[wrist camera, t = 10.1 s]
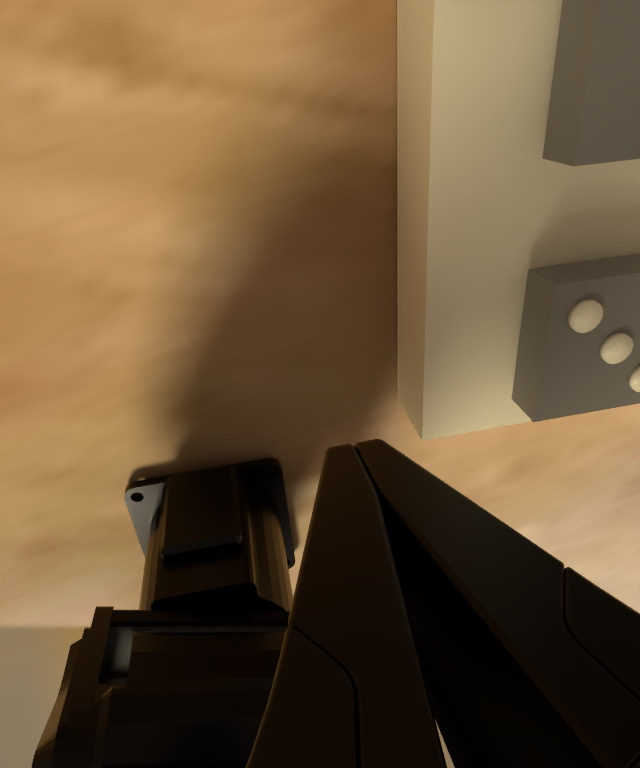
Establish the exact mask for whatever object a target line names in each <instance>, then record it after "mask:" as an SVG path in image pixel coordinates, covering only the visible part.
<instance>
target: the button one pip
mask: <svg viewBox="0 0 640 768" xmlns="http://www.w3.org/2000/svg"><path fill="white" fill-rule="evenodd" d="M542 159H546V160H550V161H554V162H558V163H562V164H566V165H570V166H582V165H590V164H599V163H607V162H616V161H624V160H633V159H640V0H563V1H562V9H561V17H560V24H559V32H558V40H557V48H556V56H555V63H554V71H553V79H552V87H551V95H550V102H549V110H548V118H547V126H546V134H545V141H544V149H543V157H542Z"/></svg>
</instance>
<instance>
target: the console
mask: <svg viewBox="0 0 640 768" xmlns="http://www.w3.org/2000/svg"><path fill="white" fill-rule="evenodd" d="M562 1H563V0H397V296H398V401H399V402H400V404H401V406H402V407H403V409H404V411H405V412H406V414H407V416H408V418H409V419H410V421H411V423H412V424H413V426H414V428H415V429H416V431H417V433H418V435H419V436H420V438H421V440H422V441H423V440H429V439H434V438H440V437H446V436H451V435H457V434H463V433H468V432H474V431H479V430H485V429H491V428H496V427H502V426H508V425H513V424H519V423H525V422H530V421H532V420H531V419H530V418H529V417H528V416H527V415H526V414H525V413H524V412H523V410H522V409H521V408H520V407H519V406H518V405H517V404H516V403H515V402H514V401H513V400H512V391H513V383H514V375H515V367H516V360H517V352H518V344H519V336H520V328H521V321H522V313H523V305H524V297H525V289H526V281H527V274H528V269H531V268H538V267H545V266H552V265H559V264H566V263H573V262H580V261H587V260H594V259H602V258H609V257H616V256H623V255H630V254H637V253H640V159H633V160H624V161H616V162H607V163H599V164H590V165H582V166H570V165H566V164H562V163H558V162H554V161H550V160H546V159H542V157H543V149H544V141H545V134H546V126H547V118H548V110H549V102H550V95H551V87H552V79H553V71H554V63H555V56H556V48H557V40H558V32H559V24H560V17H561V9H562Z"/></svg>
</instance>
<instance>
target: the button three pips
mask: <svg viewBox="0 0 640 768" xmlns="http://www.w3.org/2000/svg"><path fill="white" fill-rule="evenodd" d="M512 400H513V401H514V402H515V403H516V404H517V405H518V406H519V407H520V408H521V409H522V410H523V412H524V413H525V414H526V415H527V416H528V417H529V418H530V419H531V420H532V421H533V422H536V421H542V420H548V419H553V418H559V417H565V416H570V415H576V414H581V413H587V412H593V411H598V410H604V409H610V408H615V407H621V406H627V405H632V404H638V403H640V253H637V254H630V255H623V256H616V257H609V258H602V259H594V260H587V261H580V262H573V263H566V264H559V265H552V266H545V267H538V268H531V269H528V274H527V281H526V289H525V297H524V305H523V313H522V321H521V328H520V336H519V344H518V352H517V360H516V367H515V375H514V383H513V391H512Z"/></svg>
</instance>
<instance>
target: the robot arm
mask: <svg viewBox="0 0 640 768" xmlns="http://www.w3.org/2000/svg"><path fill="white" fill-rule="evenodd" d="M267 469H274V471H272V472H266V470H267ZM135 492H139V493H141V494H142V495H134V494H133V493H135ZM124 498H125V502H126V505H127V508H128V510H129V513H130V516H131V519H132V522H133V525H134V527H135V530H136V533H137V536H138V539H139V542H140V544H141V547H142V550H143V553H144V556H145V566H144V574H143V582H142V590H141V598H140V606H139V610H113V607H96V609H95V613H94V617H93V621H92V625H91V628H85V629H84V633H83V636H82V639H80V640H79V641H77V642H75V643H74V644H72V645H71V646H70V650H69V655H68V659H67V663H66V667H65V671H64V676H63V680H62V683H61V687H60V690H59V694H58V697H57V700H56V702H55V705H54V707H53V710H52V712H51V715H50V717H49V719H48V722H47V724H46V727H45V729H44V731H43V734H42V736H41V739H40V741H39V744H38V746H37V749H36V751H35V755H34V759H33V764H32V768H447V766H446V762H445V758H444V754H443V750H442V746H441V742H440V738H439V734H438V730H437V726H436V722H437V725H438V727H439V729H440V732H441V735H442V737H443V739H444V742H445V744H446V747H447V749H448V752H449V754H450V757H451V759H452V762H453V764H454V767H455V768H640V613H638V612H636V611H635V610H633V609H632V608H630V607H629V606H627V605H626V604H624V603H623V602H621V601H620V600H618V599H616V598H615V597H613V596H612V595H610V594H609V593H607V592H606V591H604V590H603V589H601V588H600V587H598V586H596V585H595V584H593V583H592V582H591V581H589V580H588V579H586V578H585V577H583V576H582V575H580V574H579V573H577V572H576V571H574V570H573V569H571V568H570V567H566V568H565V569H564V564H563V563H562V562H561V561H559V560H558V559H556V558H555V557H553V556H552V555H550V554H549V553H548V552H546V551H545V550H543V549H542V548H540V547H539V546H537V545H536V544H534V543H533V542H531V541H530V540H528V539H527V538H526V537H524V536H523V535H521V534H520V533H518V532H517V531H515V530H514V529H512V528H511V527H509V526H508V525H506V524H505V523H503V522H502V521H501V520H499V519H498V518H496V517H495V516H493V515H492V514H490V513H489V512H487V511H486V510H484V509H483V508H481V507H480V506H479V505H477V504H476V503H474V502H473V501H471V500H470V499H468V498H467V497H465V496H464V495H462V494H461V493H459V492H458V491H457V490H455V489H454V488H452V487H451V486H449V485H448V484H446V483H445V482H443V481H442V480H440V479H439V478H437V477H436V476H434V475H433V474H432V473H430V472H429V471H427V470H426V469H424V468H423V467H421V466H420V465H418V464H417V463H415V462H414V461H412V460H411V459H410V458H408V457H407V456H405V455H404V454H402V453H401V452H399V451H398V450H396V449H395V448H393V447H392V446H390V445H389V444H387V443H386V442H385V441H383V440H381V439H374V440H369V441H363V442H358V443H356V444H355V446H353V445H351V444H346V445H340V446H334V447H330V448H328V449H327V450H326V453H325V458H324V462H323V467H322V471H321V476H320V480H319V485H318V489H317V494H316V498H315V503H314V507H313V512H312V516H311V521H310V525H309V530H308V534H307V539H306V543H305V548H304V552H303V557H302V561H301V566H300V570H299V575H298V579H297V584H296V588H295V593H294V597H293V594H292V588H291V582H290V576H289V570H288V569H290V568H291V567H293V566H294V564H295V556H294V549H293V542H292V535H291V528H290V521H289V515H288V508H287V501H286V494H285V487H284V480H283V473H282V468H281V464H280V462H279V461H278V460H277V459H274V458H267V459H261V460H255V461H250V462H244V463H238V464H232V465H226V466H221V467H215V468H209V469H203V470H198V471H192V472H186V473H181V474H175V475H170V476H164V477H158V478H152V479H147V480H141V481H135V482H132V483H130V484H129V485H128V486H127V487H126V490H125V495H124ZM434 717H435V718H434ZM435 720H436V722H435Z"/></svg>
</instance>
